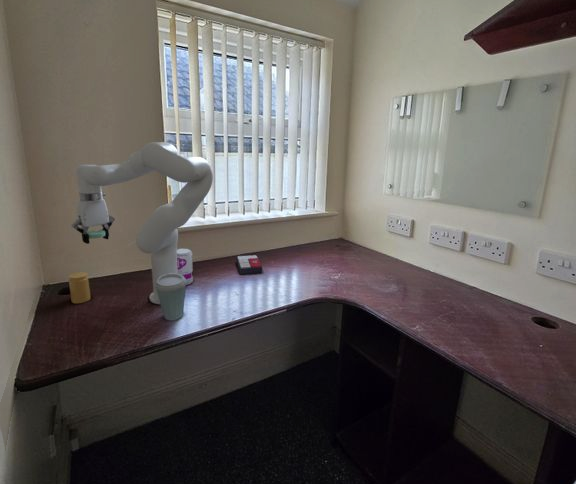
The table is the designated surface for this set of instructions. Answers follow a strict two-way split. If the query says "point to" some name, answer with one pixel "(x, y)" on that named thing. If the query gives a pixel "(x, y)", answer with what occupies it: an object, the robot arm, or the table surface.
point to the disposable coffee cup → (171, 294)
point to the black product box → (249, 264)
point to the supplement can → (185, 264)
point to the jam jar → (79, 287)
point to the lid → (96, 234)
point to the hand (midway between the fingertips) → (96, 240)
